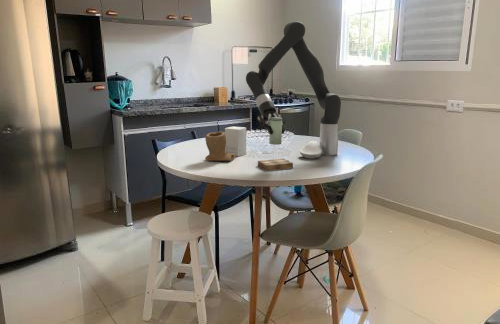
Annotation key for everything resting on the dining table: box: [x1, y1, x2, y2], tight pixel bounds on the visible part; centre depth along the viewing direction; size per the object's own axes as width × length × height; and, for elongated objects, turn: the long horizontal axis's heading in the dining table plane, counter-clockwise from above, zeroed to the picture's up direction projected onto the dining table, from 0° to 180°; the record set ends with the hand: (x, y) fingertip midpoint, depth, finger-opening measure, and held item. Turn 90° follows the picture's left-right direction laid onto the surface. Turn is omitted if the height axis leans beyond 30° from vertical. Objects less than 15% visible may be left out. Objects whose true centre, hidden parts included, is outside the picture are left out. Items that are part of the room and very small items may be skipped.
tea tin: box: [268, 117, 283, 146], centre depth 179 cm, size 6×6×12 cm
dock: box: [257, 158, 294, 172], centre depth 183 cm, size 14×10×3 cm
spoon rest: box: [299, 140, 322, 160], centre depth 208 cm, size 24×12×7 cm, turn 165°
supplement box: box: [224, 125, 247, 157], centre depth 208 cm, size 9×9×15 cm
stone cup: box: [204, 131, 237, 162], centre depth 193 cm, size 15×12×15 cm
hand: (277, 133), depth 178 cm, fingers closed on tea tin, 5 cm apart
